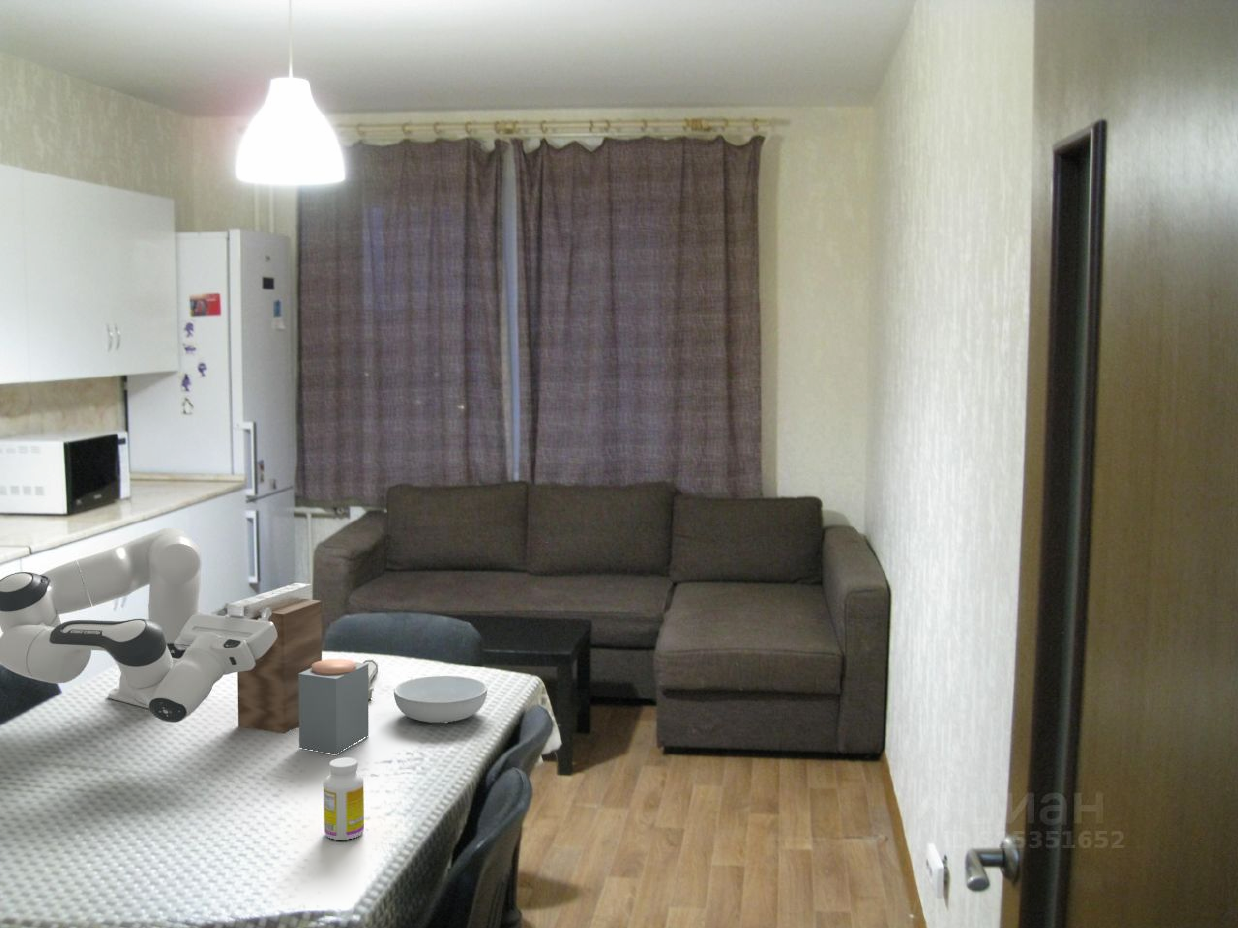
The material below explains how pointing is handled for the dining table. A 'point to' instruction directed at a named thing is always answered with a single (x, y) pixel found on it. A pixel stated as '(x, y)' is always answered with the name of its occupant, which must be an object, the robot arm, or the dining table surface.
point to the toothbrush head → (371, 674)
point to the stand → (281, 669)
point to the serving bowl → (440, 698)
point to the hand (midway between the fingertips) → (249, 607)
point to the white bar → (270, 600)
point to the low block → (333, 705)
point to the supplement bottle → (343, 800)
